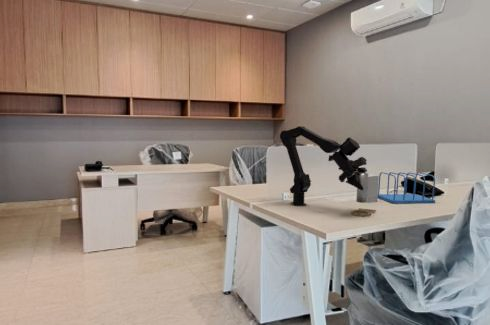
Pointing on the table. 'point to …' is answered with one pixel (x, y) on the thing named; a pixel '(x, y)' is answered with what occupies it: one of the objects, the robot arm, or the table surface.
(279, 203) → the table surface
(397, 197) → the file sorter
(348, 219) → the table surface
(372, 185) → the skincare box
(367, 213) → the hub seat
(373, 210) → the stand pad
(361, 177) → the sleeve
